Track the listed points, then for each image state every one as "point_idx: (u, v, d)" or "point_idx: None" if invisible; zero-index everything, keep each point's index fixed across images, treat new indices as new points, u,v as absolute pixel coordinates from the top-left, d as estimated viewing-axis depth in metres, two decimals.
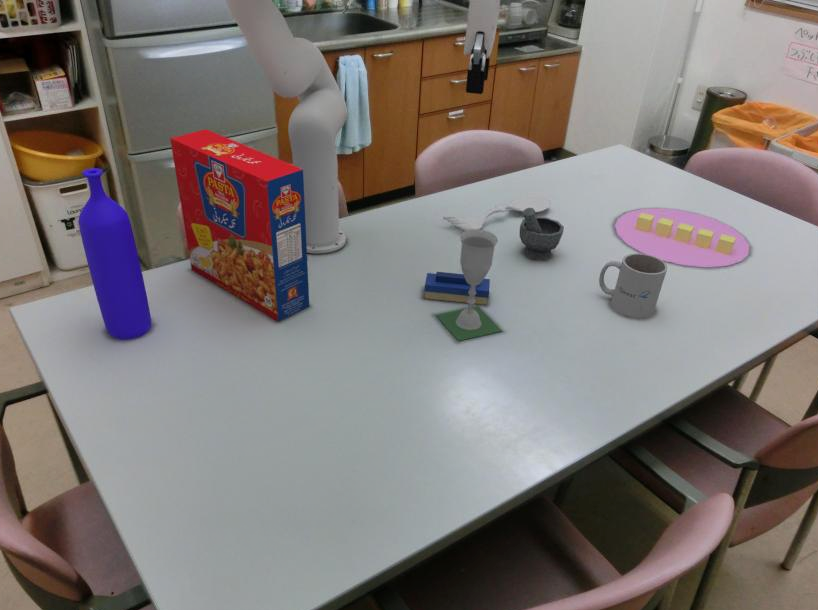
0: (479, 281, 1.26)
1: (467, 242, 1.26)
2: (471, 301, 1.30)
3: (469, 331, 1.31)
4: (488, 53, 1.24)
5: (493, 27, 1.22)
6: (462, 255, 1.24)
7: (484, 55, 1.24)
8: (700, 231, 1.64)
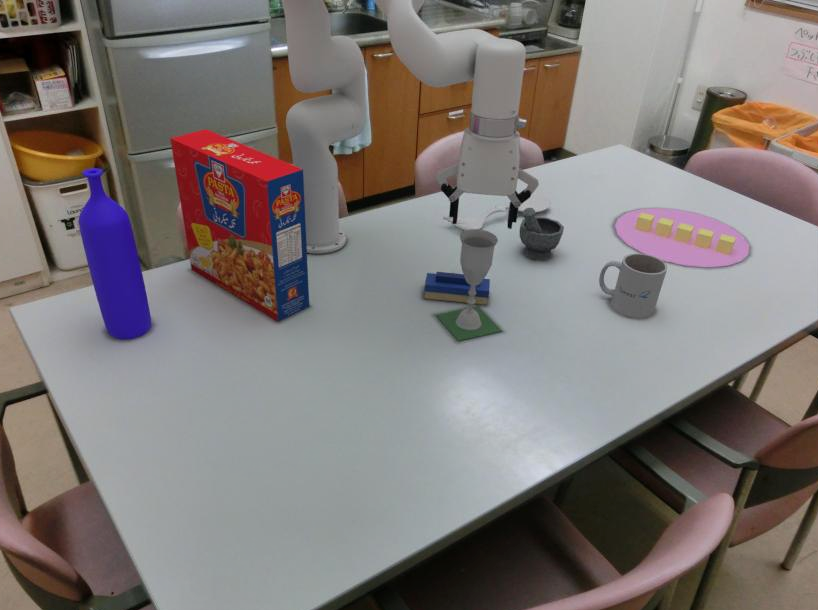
0: (479, 281, 1.26)
1: (467, 242, 1.26)
2: (471, 301, 1.30)
3: (469, 331, 1.31)
4: (458, 186, 1.15)
5: (464, 163, 1.13)
6: (462, 255, 1.24)
7: None
8: (700, 231, 1.64)
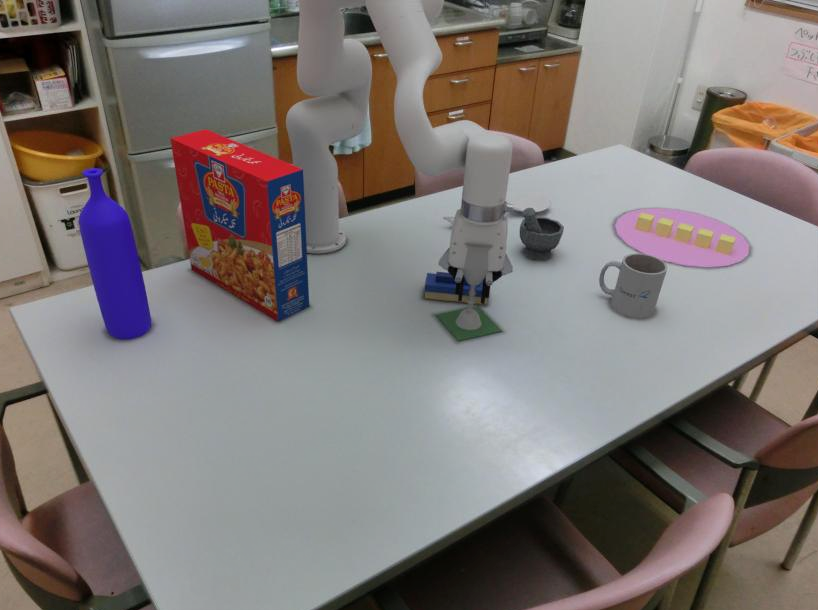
0: (479, 281, 1.26)
1: None
2: (471, 301, 1.30)
3: (469, 331, 1.31)
4: (450, 262, 1.24)
5: (456, 243, 1.21)
6: None
7: (457, 268, 1.26)
8: (700, 231, 1.64)
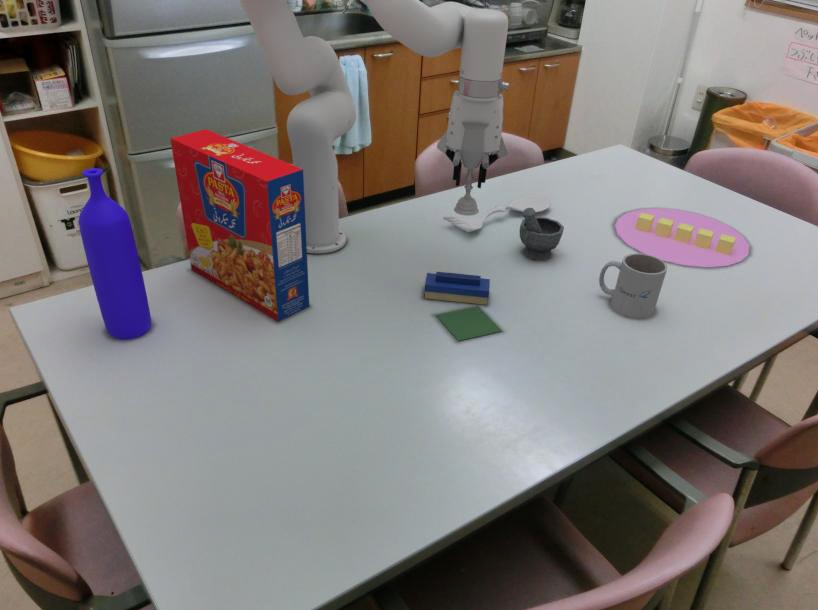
0: (476, 163, 1.31)
1: None
2: (468, 186, 1.34)
3: (469, 331, 1.31)
4: (447, 144, 1.29)
5: (453, 122, 1.26)
6: None
7: (455, 151, 1.30)
8: (700, 231, 1.64)
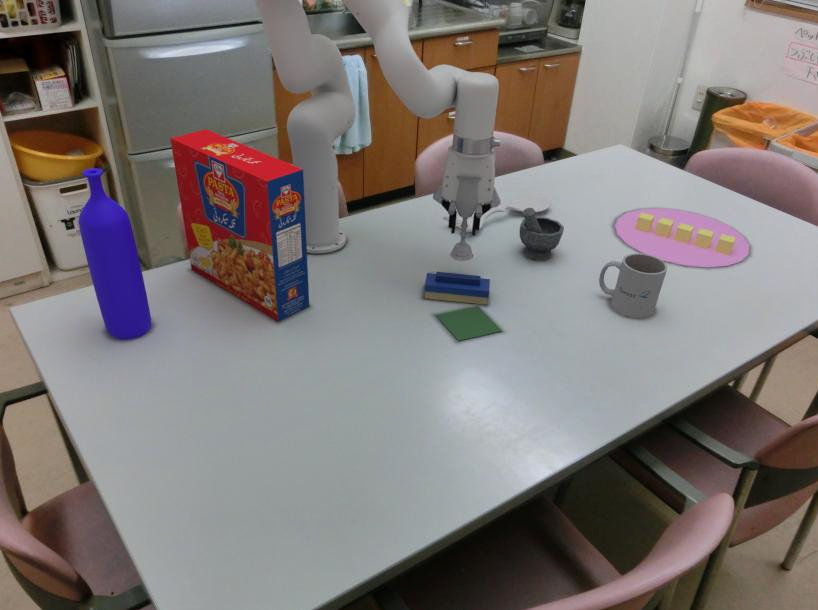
0: (470, 213, 1.38)
1: None
2: (463, 233, 1.42)
3: (469, 331, 1.31)
4: (443, 195, 1.36)
5: (448, 176, 1.33)
6: None
7: (450, 201, 1.37)
8: (700, 231, 1.64)
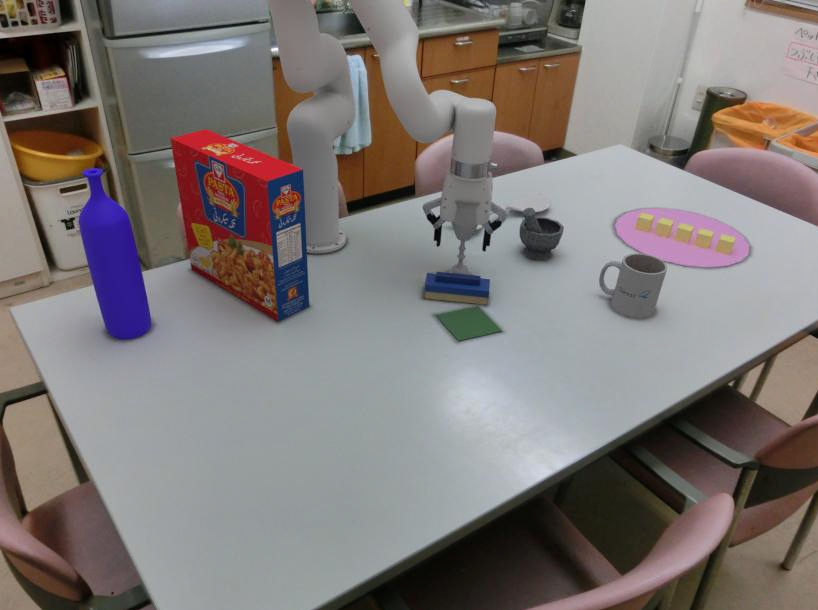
0: (468, 237, 1.41)
1: None
2: (461, 256, 1.45)
3: (469, 331, 1.31)
4: (441, 216, 1.39)
5: (446, 198, 1.36)
6: None
7: None
8: (700, 231, 1.64)
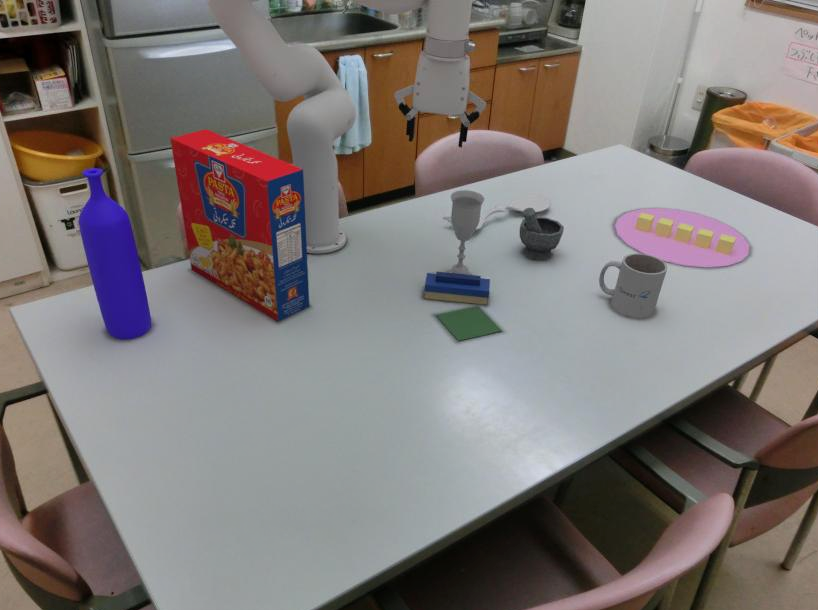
0: (468, 237, 1.41)
1: (457, 202, 1.40)
2: (461, 256, 1.45)
3: (469, 331, 1.31)
4: (414, 105, 1.28)
5: (419, 83, 1.25)
6: (452, 213, 1.38)
7: None
8: (700, 231, 1.64)
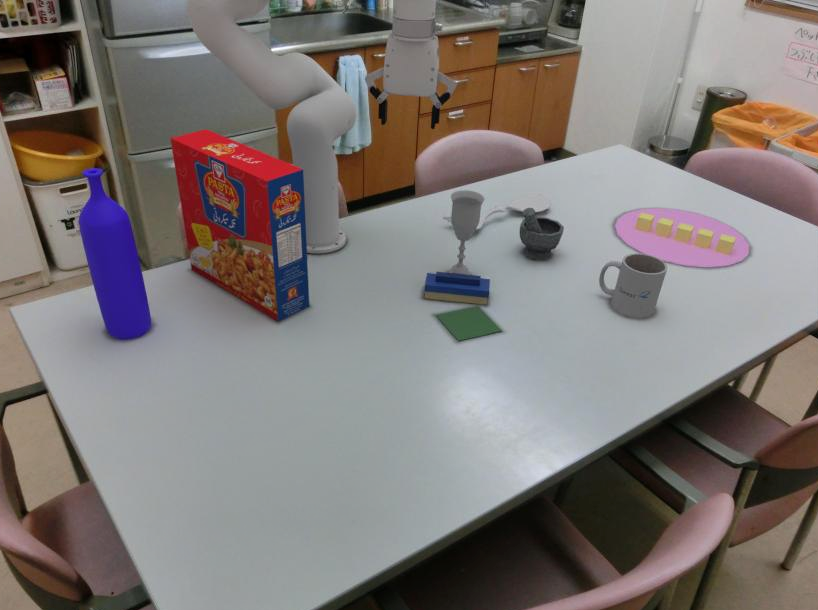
0: (468, 237, 1.41)
1: (457, 202, 1.40)
2: (461, 256, 1.45)
3: (469, 331, 1.31)
4: (384, 88, 1.28)
5: (388, 65, 1.25)
6: (452, 213, 1.38)
7: None
8: (700, 231, 1.64)
